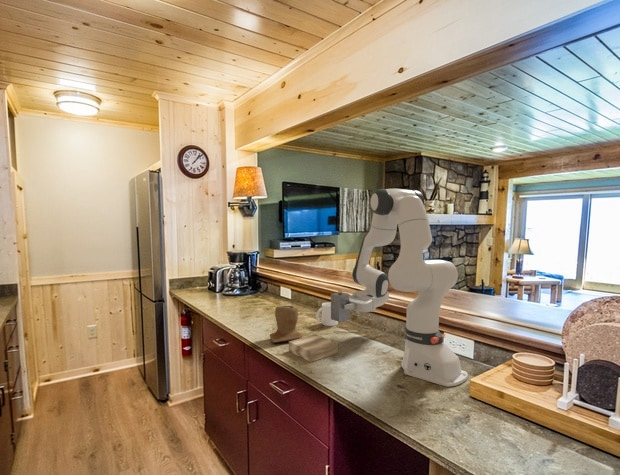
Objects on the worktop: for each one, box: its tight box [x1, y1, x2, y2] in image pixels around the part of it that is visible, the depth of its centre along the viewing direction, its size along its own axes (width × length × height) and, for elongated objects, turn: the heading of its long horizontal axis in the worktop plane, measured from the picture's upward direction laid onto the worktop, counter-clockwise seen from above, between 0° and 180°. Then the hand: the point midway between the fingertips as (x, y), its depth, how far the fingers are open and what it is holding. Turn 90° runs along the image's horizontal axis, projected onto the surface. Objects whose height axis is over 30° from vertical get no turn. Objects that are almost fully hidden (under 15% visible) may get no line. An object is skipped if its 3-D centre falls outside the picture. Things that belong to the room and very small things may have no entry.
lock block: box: [330, 290, 350, 323], centre depth 149 cm, size 5×6×12 cm
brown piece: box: [269, 305, 303, 344], centre depth 156 cm, size 15×12×15 cm
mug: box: [315, 301, 339, 327], centre depth 177 cm, size 12×8×10 cm
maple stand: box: [288, 334, 339, 363], centre depth 141 cm, size 14×14×4 cm
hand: (338, 305), depth 149 cm, fingers closed on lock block, 5 cm apart
